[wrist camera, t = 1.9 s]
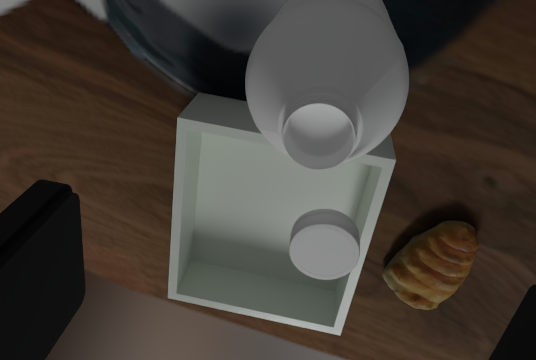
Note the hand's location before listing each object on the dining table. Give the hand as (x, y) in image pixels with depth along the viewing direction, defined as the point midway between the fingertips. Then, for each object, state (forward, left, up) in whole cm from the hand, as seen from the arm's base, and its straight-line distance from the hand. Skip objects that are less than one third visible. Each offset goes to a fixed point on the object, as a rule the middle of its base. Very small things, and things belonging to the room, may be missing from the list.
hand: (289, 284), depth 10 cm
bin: (+2, +17, -31) cm, 35 cm away
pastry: (-14, +20, -31) cm, 39 cm away
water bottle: (0, 0, -31) cm, 31 cm away
